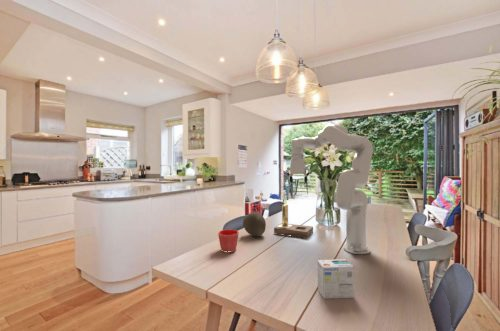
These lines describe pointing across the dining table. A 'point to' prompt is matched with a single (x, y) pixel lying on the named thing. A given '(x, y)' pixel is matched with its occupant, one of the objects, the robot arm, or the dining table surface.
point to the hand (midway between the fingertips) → (298, 182)
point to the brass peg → (285, 215)
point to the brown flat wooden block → (294, 230)
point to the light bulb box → (335, 278)
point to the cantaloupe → (254, 224)
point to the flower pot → (228, 239)
